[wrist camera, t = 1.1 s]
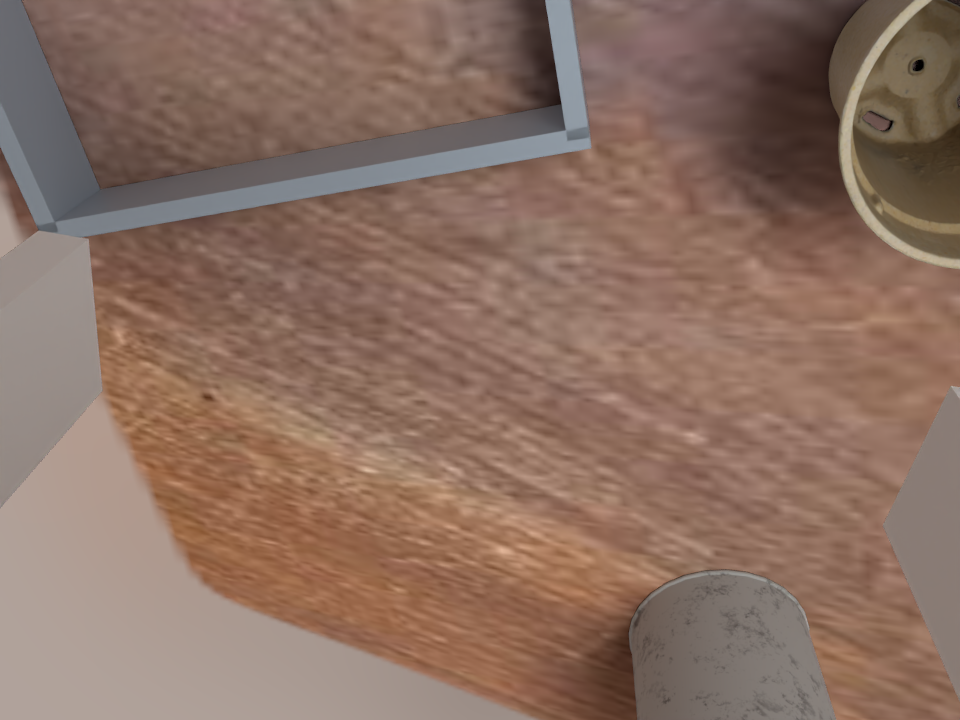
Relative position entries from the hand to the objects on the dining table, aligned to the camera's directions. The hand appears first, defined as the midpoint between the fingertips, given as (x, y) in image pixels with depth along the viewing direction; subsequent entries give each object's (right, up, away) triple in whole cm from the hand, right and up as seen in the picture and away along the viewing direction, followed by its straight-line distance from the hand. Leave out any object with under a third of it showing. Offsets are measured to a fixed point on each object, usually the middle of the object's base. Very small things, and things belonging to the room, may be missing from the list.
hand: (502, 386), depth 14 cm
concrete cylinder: (+13, -14, +35) cm, 40 cm away
